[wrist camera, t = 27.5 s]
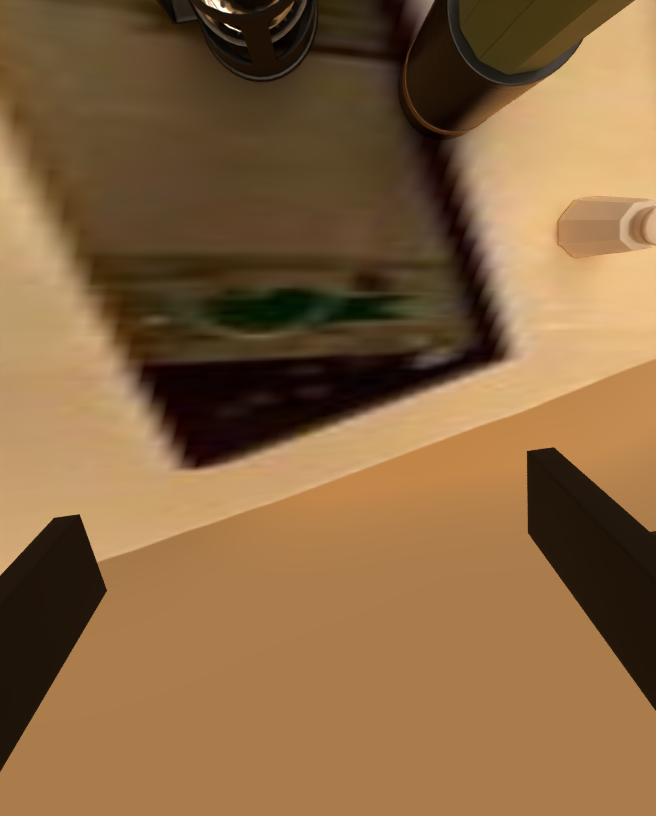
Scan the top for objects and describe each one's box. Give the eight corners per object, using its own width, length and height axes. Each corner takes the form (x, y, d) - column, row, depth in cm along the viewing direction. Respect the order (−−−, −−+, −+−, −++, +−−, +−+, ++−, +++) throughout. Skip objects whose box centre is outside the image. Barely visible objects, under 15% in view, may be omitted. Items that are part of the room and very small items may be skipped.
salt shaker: (623, 237, 45) (715, 237, 35) (569, 269, 46) (643, 279, 36) (601, 182, 44) (690, 165, 33) (545, 217, 45) (615, 212, 34)
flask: (402, 147, 42) (472, 75, 23) (392, 36, 40) (463, -147, 21) (496, 132, 42) (643, 48, 23) (493, 19, 40) (655, -179, 21)
